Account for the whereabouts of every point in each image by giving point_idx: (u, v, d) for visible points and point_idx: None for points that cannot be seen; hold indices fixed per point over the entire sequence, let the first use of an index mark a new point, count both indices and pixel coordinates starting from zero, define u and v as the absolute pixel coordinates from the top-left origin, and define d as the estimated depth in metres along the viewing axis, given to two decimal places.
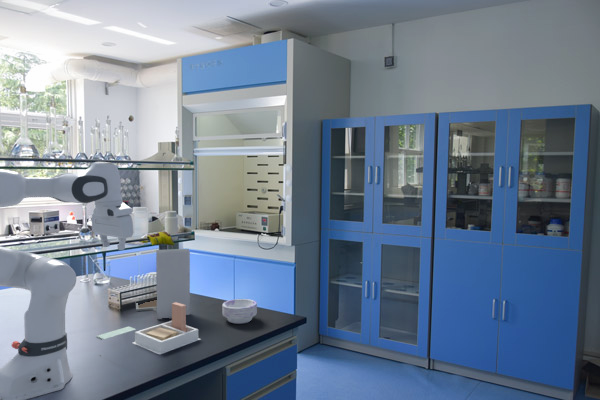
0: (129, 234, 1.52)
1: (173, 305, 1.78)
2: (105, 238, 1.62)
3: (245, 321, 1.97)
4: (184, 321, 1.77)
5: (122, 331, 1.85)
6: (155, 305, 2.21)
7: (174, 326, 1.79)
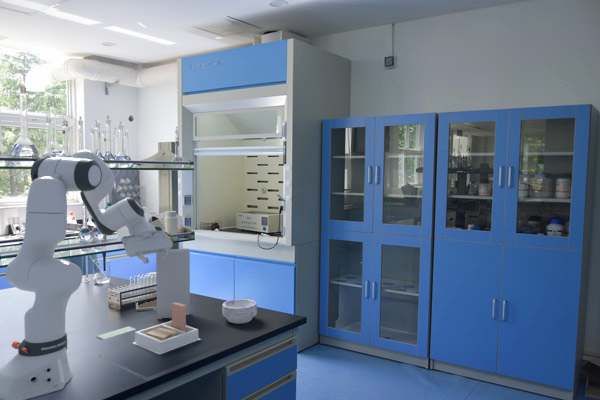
0: None
1: (173, 305, 1.78)
2: None
3: (245, 321, 1.97)
4: (184, 321, 1.77)
5: (122, 331, 1.85)
6: (155, 305, 2.21)
7: (174, 326, 1.79)
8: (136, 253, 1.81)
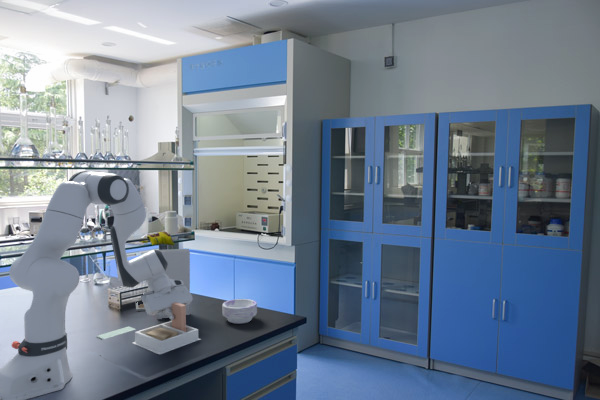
0: None
1: (173, 305, 1.78)
2: None
3: (245, 321, 1.97)
4: (184, 321, 1.77)
5: (122, 331, 1.85)
6: None
7: (174, 326, 1.79)
8: (156, 311, 1.74)
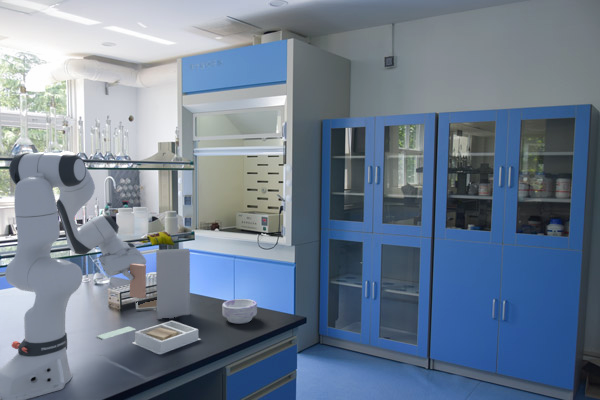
0: None
1: (132, 266, 1.80)
2: None
3: (245, 321, 1.97)
4: (144, 281, 1.80)
5: (122, 331, 1.85)
6: (155, 305, 2.22)
7: (133, 287, 1.80)
8: (116, 272, 1.74)
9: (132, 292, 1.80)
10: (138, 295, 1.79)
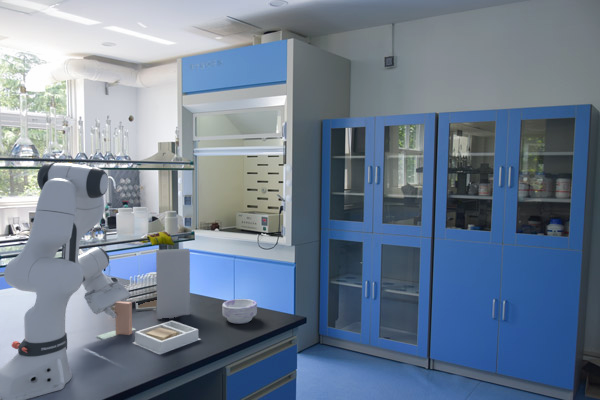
0: None
1: (117, 304, 1.80)
2: None
3: (245, 321, 1.97)
4: (131, 318, 1.81)
5: None
6: (155, 305, 2.22)
7: (119, 325, 1.81)
8: (103, 309, 1.74)
9: (118, 330, 1.81)
10: (124, 333, 1.80)
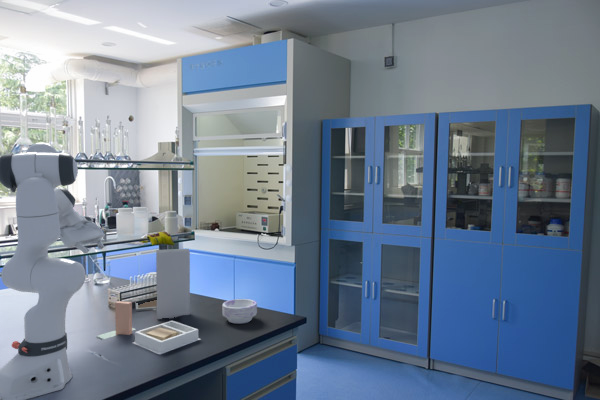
0: None
1: (117, 304, 1.80)
2: None
3: (245, 321, 1.97)
4: (131, 318, 1.81)
5: None
6: (155, 305, 2.22)
7: (119, 325, 1.81)
8: (75, 243, 1.77)
9: (118, 330, 1.81)
10: (124, 333, 1.80)
